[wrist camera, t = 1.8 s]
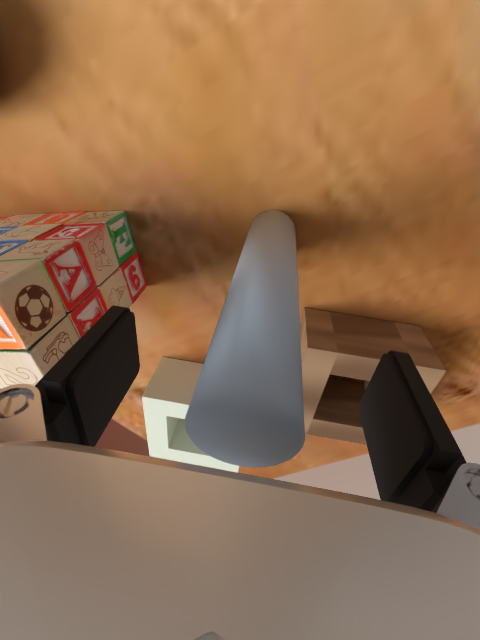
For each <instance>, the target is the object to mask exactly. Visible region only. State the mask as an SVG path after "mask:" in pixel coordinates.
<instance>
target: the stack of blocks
mask: <svg viewBox="0 0 480 640" xmlns="http://www.w3.org/2000/svg"><path fill="white" fill-rule="evenodd" d="M146 287H147V283H146V279H145V276H144V272H143V269H142V266H141V262H140V259H139V255H138V252H137V251H136V247H135V244H134V240H133V237H132V233H131V230H130V226H129V223H128V219H127V216H126V212H125V211H123V210H122V211H102V212H86V211H80V212H63V213H49V214H48V213H45V214H25V215H14V216H12V217H3V218H0V389H2V388H5V387H7V386H10V385H16V384H29V385H33V386H35V385H36V384H37V383H38V382H39V380H40V379H41V378H42V377H43V376H44V375H45V374H46V373H47V372H48V371H49V370H50V369H51V368H52V367H53V366H54V365H55V364H56V363H57V362H58V361H59V360H60V359H61V358H62V357H63V356H64V354H65V353H66V352H67V351H68V350H69V349H70V348H71V347H72V346H73V345H74V344H75V343H76V342H77V341H78V340H79V339H80V338H81V337H82V336H83V335H84V334H85V333H86V332H87V331H88V330H89V329H90V328H91V327H92V326H93V325H94V324H95V323H96V322H97V321H98V320H99V319H100V318H101V317H102V316H103V315H104V314H105V312H106V311H107V310H108V309H109V308H110V307H111V306H120V307H127V308H129V307H130V306H131V304H133V303H134V302H135V301H136V299H137V298H138V297H139V295H140V294H141V293H142V292H143V290H144V289H145V288H146Z"/></svg>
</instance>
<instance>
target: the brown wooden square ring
mask: <svg viewBox="0 0 480 640" xmlns="http://www.w3.org/2000/svg"><path fill="white" fill-rule="evenodd" d="M300 338H301V360H302V382H303V404H304V425H305V434H310V435H316V436H321V437H327V438H332V439H338V440H344V441H349V442H355V443H360V444H366V445H367V443H366V439H365V435H364V431H363V427H362V423H361V419H360V415H359V403H360V401H361V399H362V397H363V395H364V393H365V390H366V388H367V386H368V384H369V382H370V380H371V378H372V376H373V374H374V372H375V370H376V368H377V365H378V363H379V361H380V359H381V357H382V355H383V354H384V353H387V354H388V352H389V351H391V350H393V351H399V352H405V353H408V354H409V355H410V356H411V358H412V360H413V362H414V364H415V366H416V368H417V370H418V372H419V373H420V375H421V377H422V379H423V381H424V383H425V385H426V387H427V389H428V390H429V392H430V394H431V393H432V391H433V390H434V388H435V387H436V385H437V384H438V383H439V381H440V380H441V378H442V377H443V375H444V374H445V372H446V371H447V370H446V369H445V367H444V365H443V364H442V362H441V360H440V359H439V357H438V355H437V354H436V352H435V350H434V349H433V347H432V345H431V344H430V342H429V340H428V339H427V337H426V335H425V334H424V332H423V330H422V329H421V327H420V326H418V325H412V324H405V323H399V322H393V321H386V320H380V319H374V318H367V317H361V316H355V315H349V314H342V313H336V312H330V311H323V310H317V309H311V308H304V312H303V315H302V319H301V323H300ZM330 374H331V375H337V376H343V377H349V378H355V379H361V380H365V381H364V383H359V382H353V381H347V380H342V379H336V378H330V377H329V375H330Z"/></svg>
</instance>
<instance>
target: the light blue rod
mask: <svg viewBox="0 0 480 640" xmlns="http://www.w3.org/2000/svg"><path fill="white" fill-rule="evenodd" d="M185 429H186V432H187V434H188V436H189V438H190V439H191V441H192V442H193V443H194V444H195V445H196V446H197V447H198V448H199V449H200V450H202V451H203V452H204V453H206V454H208V455H209V456H211V457H213V458H215V459H217V460H220V461H222V462H225V463H229V464H232V465H237V466H243V467H268V466H273V465H277V464H280V463H283V462H285V461H288V460H290V459H291V458H293V457H294V456H295V455H296V454H297V453H298V452H299V451H300V450H301V448H302V446H303V444H304V441H305V425H304V404H303V382H302V360H301V338H300V317H299V295H298V273H297V251H296V231H295V226H294V223H293V221H292V220H291V218H290V217H289V216H288V215H286V214H285V213H283V212H281V211H277V210H268V211H265V212H262V213H261V214H259V215H258V216H257V217H256V218H255V219H254V220H253V222H252V224H251V226H250V229H249V232H248V235H247V238H246V241H245V244H244V247H243V250H242V253H241V256H240V258H239V261H238V264H237V267H236V270H235V273H234V276H233V279H232V282H231V285H230V288H229V291H228V294H227V297H226V299H225V302H224V305H223V308H222V311H221V314H220V317H219V320H218V323H217V326H216V329H215V332H214V335H213V338H212V341H211V343H210V346H209V349H208V352H207V355H206V358H205V361H204V364H203V367H202V370H201V373H200V376H199V379H198V382H197V384H196V387H195V390H194V393H193V396H192V399H191V402H190V405H189V408H188V411H187V414H186V417H185Z"/></svg>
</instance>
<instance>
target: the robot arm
mask: <svg viewBox="0 0 480 640" xmlns="http://www.w3.org/2000/svg"><path fill="white" fill-rule="evenodd" d="M139 368H140V363H139V354H138V344H137V335H136V325H135V316H134V313H133V312H130V309H129V308H127V307H120V306H111V307H110V308H109V309H108V310H107V311H106V312H105V314H104V315H103V316H102V317H101V318H100V319H99V320H98V321H97V322H96V323H95V324H94V325H93V326H92V327H91V328H90V329H89V330H88V331H87V332H86V333H85V334H84V335H83V336H82V337H81V338H80V339H79V340H78V341H77V342H76V343H75V344H74V345H73V346H72V347H71V348H70V349H69V350H68V351H67V352H66V353H65V354H64V356H63V357H62V358H61V359H60V360H59V361H58V362H57V363H56V364H55V365H54V366H53V367H52V368H51V369H50V370H49V371H48V372H47V373H46V374H45V375H44V376H43V377H42V378H41V379H40V380H39V382H38V383H37V384H36V385H35V386H33V385H29V384H16V385H10V386H7V387H5V388H2V389H0V640H480V465H479V464H476V463H466V461H465V459H464V457H463V455H462V453H461V451H460V449H459V447H458V445H457V443H456V441H455V439H454V438H453V436H452V434H451V432H450V430H449V428H448V426H447V424H446V422H445V421H444V419H443V417H442V415H441V413H440V411H439V409H438V407H437V405H436V404H435V402H434V400H433V398H432V396H431V394H430V392H429V390H428V389H427V387H426V385H425V383H424V381H423V379H422V377H421V375H420V373H419V372H418V370H417V368H416V366H415V364H414V362H413V360H412V358H411V356H410V355H409V354H408V353H405V352H399V351H393V350H391V351H389V352H388V354H387V353H384V354H383V355H382V357H381V359H380V361H379V363H378V365H377V368H376V370H375V372H374V374H373V376H372V378H371V380H370V382H369V384H368V386H367V388H366V390H365V393H364V395H363V397H362V399H361V401H360V403H359V415H360V419H361V423H362V427H363V431H364V435H365V439H366V443H367V447H368V451H369V455H370V459H371V463H372V467H373V471H374V475H375V479H376V483H377V487H378V491H379V495H380V498H381V500H377V499H372V498H368V497H363V496H358V495H352V494H348V493H343V492H337V491H332V490H327V489H321V488H316V487H311V486H306V485H300V484H295V483H290V482H285V481H280V480H274V479H269V478H264V477H258V476H253V475H248V474H242V473H237V472H231V471H226V470H221V469H215V468H210V467H204V466H199V465H194V464H188V463H183V462H177V461H171V460H166V459H160V458H155V457H149V456H144V455H138V454H133V453H127V452H121V451H115V450H109V449H103V448H97V447H94V446H95V445H96V443H97V442H98V440H99V438H100V437H101V435H102V433H103V431H104V430H105V428H106V426H107V425H108V423H109V421H110V420H111V418H112V416H113V415H114V413H115V411H116V410H117V408H118V406H119V405H120V403H121V401H122V400H123V398H124V396H125V395H126V393H127V391H128V390H129V388H130V386H131V384H132V383H133V381H134V379H135V378H136V376H137V374H138V372H139Z"/></svg>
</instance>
